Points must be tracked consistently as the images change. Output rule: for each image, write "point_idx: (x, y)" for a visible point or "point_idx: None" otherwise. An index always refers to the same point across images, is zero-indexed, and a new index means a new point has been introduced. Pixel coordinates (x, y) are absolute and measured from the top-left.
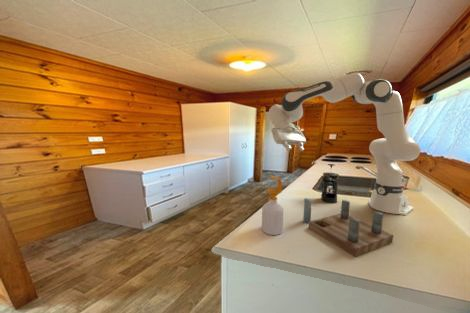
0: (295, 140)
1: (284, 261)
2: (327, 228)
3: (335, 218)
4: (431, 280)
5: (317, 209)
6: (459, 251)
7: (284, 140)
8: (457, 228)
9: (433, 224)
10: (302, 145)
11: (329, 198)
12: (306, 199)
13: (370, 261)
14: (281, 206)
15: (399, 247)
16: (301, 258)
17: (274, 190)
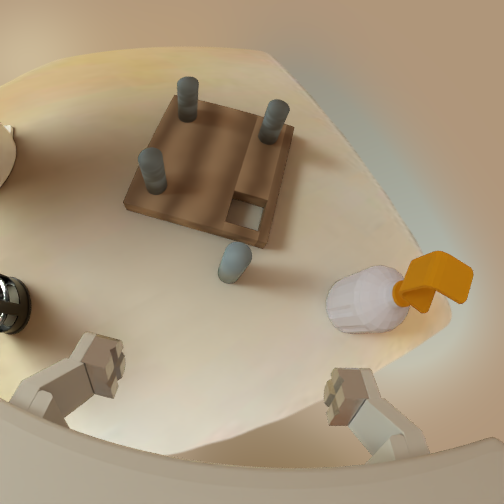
0: (175, 461)
1: (400, 216)
2: (262, 190)
3: (180, 200)
4: (257, 67)
5: (109, 297)
6: (133, 52)
7: (440, 452)
8: (37, 69)
9: (37, 88)
10: (58, 370)
11: (19, 292)
12: (242, 260)
13: None
14: (371, 276)
15: None
16: (373, 199)
17: (413, 292)
